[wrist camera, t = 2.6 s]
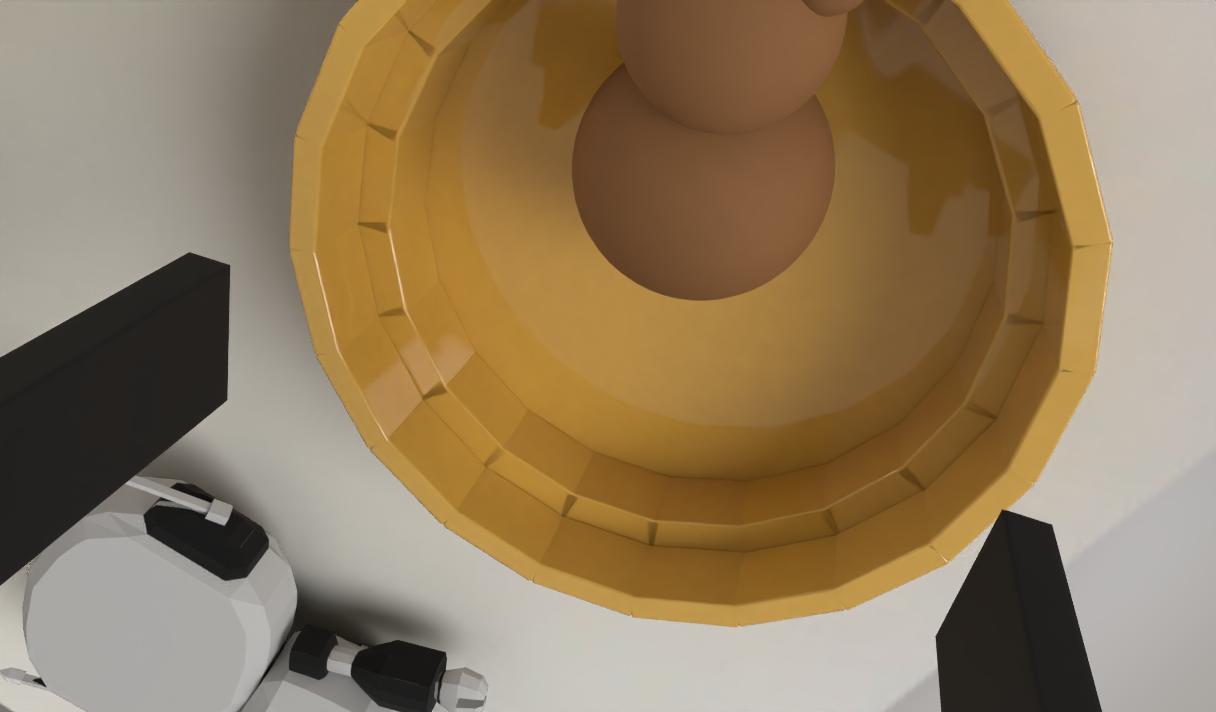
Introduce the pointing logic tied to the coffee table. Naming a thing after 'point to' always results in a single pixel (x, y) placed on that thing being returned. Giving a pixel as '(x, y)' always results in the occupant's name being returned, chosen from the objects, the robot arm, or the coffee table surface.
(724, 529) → the ochre bowl
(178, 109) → the coffee table surface
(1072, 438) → the coffee table surface
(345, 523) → the coffee table surface
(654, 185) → the plush bear
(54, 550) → the robot toy
